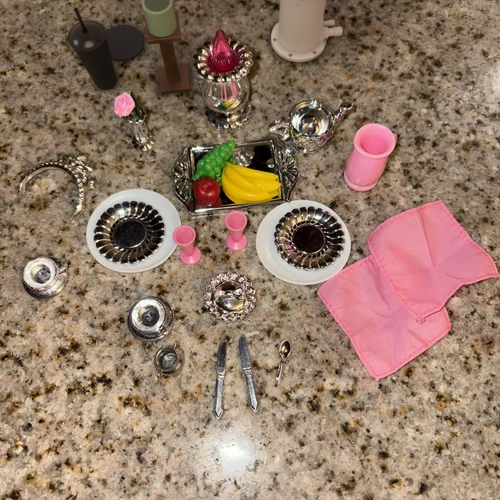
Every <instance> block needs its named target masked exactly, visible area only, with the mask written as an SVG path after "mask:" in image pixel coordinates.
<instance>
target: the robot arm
mask: <svg viewBox="0 0 500 500" xmlns="http://www.w3.org/2000/svg"><path fill="white" fill-rule="evenodd" d="M326 6H327V0H280V1H279V13H278V22H277V23H276V24H275V25H274V26H273V28H272V30H271V34H270V43H271V47H272V49H273V50H274V52H275V53H276V54H277V55H278V56H279V57H280V58H282V59H284V60H286V61H289V62H292V63H305V62H310V61H312V60H315V59H316V58H318V57H319V56H321V54H322V53H323V51H325V48H326V44H327V40H328V39H329V37H341V36H342V35H343V27H342V26H335V23H336V22H335V19H327V20H324V17H325V12H326V11H325V10H326Z"/></svg>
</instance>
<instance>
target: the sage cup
mask: <svg viewBox="0 0 500 500" xmlns="http://www.w3.org/2000/svg"><path fill="white" fill-rule="evenodd" d="M141 9H142V11H143V15H144V16H145V17H144V20H145V19H146V23H147V27H148V30H149V32H150V33H151V34H153V35H154V36H157V37H166V36H169V35H171V34H172V33H173V32H174V31H175V30H176V27H177V21H176V16H175V11H176V10H175V6H174V0H141Z"/></svg>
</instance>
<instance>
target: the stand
mask: <svg viewBox="0 0 500 500" xmlns="http://www.w3.org/2000/svg"><path fill="white" fill-rule="evenodd" d="M174 11H175V16H176V21H177V27H176V30H175V31H174V32H173V33H172V34H171V35H169V36H166V37H157V36H154V35H153V34H151V33H150V32H149V30H148V27H147V23H146V19H145V16H144V28H145V39H146V45H148V46H149V45H156V44H158V46H159V50H160V53H161V58H162V62H163V65H164V66H160V67H158V70H157V71H158V79H159V81H158V82H159V90H160V95H169V94H178V93H186V92H187V93H188V92H191V91H192V90H191V89H192V88H191V81H190V73H189V65H188V63H186V64H179V63H178V58H177V54H176V53H177V52H176V49H175V43H176V42H180V41H182V32H181V24H180V15H179V11H178V10H174ZM174 42H175V43H174Z"/></svg>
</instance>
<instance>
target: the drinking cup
mask: <svg viewBox="0 0 500 500" xmlns="http://www.w3.org/2000/svg"><path fill="white" fill-rule="evenodd" d="M73 11H74V13H75V15H76V18H77V20H78V22H77V23H75V24H74V25H72V26H71V28H70V29H69V31H68V33H67V42H68V44H69V46H70V47H71V49H72V50H74V52H75V54H76V55H77V57H78V58H79V60H80V61H81V63H82V65H83V67H84V68H85V70H86V71H87V73H88V75H89V76H90V78H91V79H92V81H93V82H94V85H95V86H96V87H97V88H98V89H99V90H101V91H109V90H112V89H113V88H114V87H115V86H116V85H117V83H118V77H117V73H116V69H115V65H114V60H112V57H111V53H110V49H109V45H108V41H107V32H106V31H107V29H106V27H105V26H104V24H102V23H101V22H99V21H96V20H94V19H93V20H92V19H87V20H83V18H82V16H81V13H80V11H79V8H78V7H74V9H73Z"/></svg>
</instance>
